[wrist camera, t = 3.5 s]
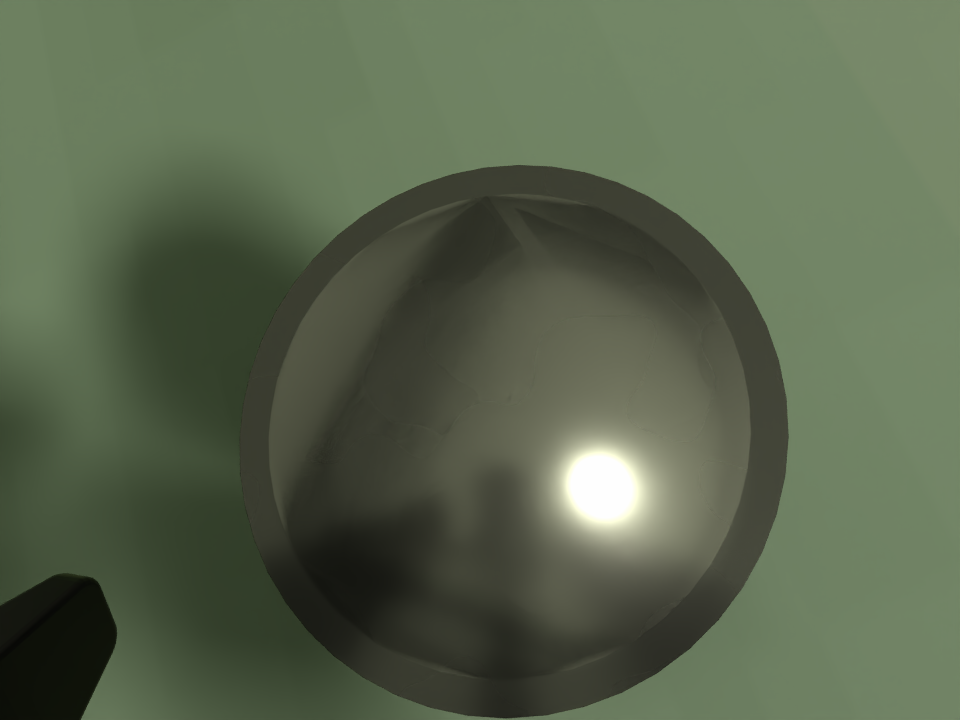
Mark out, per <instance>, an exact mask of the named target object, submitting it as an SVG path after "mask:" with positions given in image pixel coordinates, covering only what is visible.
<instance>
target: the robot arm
mask: <svg viewBox="0 0 960 720" xmlns="http://www.w3.org/2000/svg"><path fill="white" fill-rule="evenodd" d="M116 639H117V628H116V624H115V622H114V619H113V617H112V614H111V612H110V609H109V607H108V604H107V602H106V599H105V597H104V594H103V592H102V589H101V587H100V585H99V583H98V582H97V581H96V580H95V579H93V578H91V577H87V576H81V575H75V574H69V573H62V574H57V575H54V576H52V577H50V578H48V579H46V580H45V581H43V582H41V583H39V584H38V585H36V586H34V587H32V588H31V589H29V590H27V591H25V592H24V593H22V594H20V595H18V596H16V597H15V598H13V599H11V600H9V601H8V602H6V603H4V604H2V605H1V606H0V720H81V718H82V716H83V714H84V712H85V709H86V707H87V705H88V703H89V701H90V699H91V697H92V695H93V693H94V691H95V688H96V686H97V684H98V682H99V680H100V678H101V676H102V674H103V672H104V670H105V667H106V665H107V663H108V661H109V659H110V657H111V655H112V653H113V650H114V648H115V644H116Z"/></svg>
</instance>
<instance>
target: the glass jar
mask: <svg viewBox="0 0 960 720" xmlns="http://www.w3.org/2000/svg"><path fill="white" fill-rule="evenodd" d="M788 437H789V436H788V419H787V401H786V394H785V389H784V384H783V379H782V374H781V369H780V364H779V360H778V357H777V354H776V351H775V348H774V345H773V342H772V340H771V337H770V334H769V331H768V328H767V325H766V323H765V321H764V320H763V318H762V316H761V314H760V312H759V310H758V308H757V306H756V304H755V302H754V300H753V298H752V296H751V294H750V292H749V291H748V290H747V288H746V287H745V285H744V284H743V282H742V281H741V280H740V278H739V277H738V275H737V274H736V272H735V271H734V269H733V268H732V267H731V265H730V264H729V263H728V262H727V260H726V259H725V258H724V257H723V256H722V255H721V254H720V253H719V252H718V251H717V250H716V249H715V247H714V246H713V245H712V244H711V243H710V242H709V241H708V240H707V239H706V238H705V237H704V236H703V235H702V234H701V233H699V232H698V231H697V230H696V229H694V228H693V227H692V226H691V225H690V224H688V223H687V222H686V221H685V220H684V219H682V218H681V217H680V216H679V215H677V214H676V213H674V212H673V211H671V210H669V209H668V208H666V207H665V206H663V205H661V204H660V203H658V202H657V201H655V200H653V199H652V198H650V197H648V196H646V195H644V194H642V193H640V192H637V191H635V190H633V189H631V188H629V187H626V186H624V185H622V184H620V183H618V182H614V181H611V180H608V179H605V178H601V177H598V176H595V175H592V174H588V173H585V172H580V171H574V170H568V169H562V168H556V167H547V166H526V165H514V166H500V167H487V168H481V169H476V170H471V171H466V172H461V173H456V174H452V175H449V176H445V177H442V178H439V179H436V180H433V181H430V182H427V183H424V184H421V185H419V186H417V187H415V188H412V189H410V190H408V191H406V192H404V193H401V194H399V195H397V196H395V197H393V198H391V199H389V200H388V201H386V202H384V203H383V204H381V205H379V206H378V207H376V208H374V209H373V210H371V211H369V212H368V213H366V214H365V215H363V216H362V217H360V218H359V219H358V220H357V221H355V222H354V223H353V224H351V225H350V226H349V227H348V228H346V229H345V230H344V231H342V232H341V233H340V234H339V235H337V236H336V237H335V238H334V239H333V240H332V241H331V242H330V243H329V244H328V245H327V246H326V247H325V248H324V249H323V250H322V251H321V252H320V253H319V254H318V255H317V256H316V257H315V258H314V259H313V260H312V262H311V263H310V264H309V265H308V267H307V268H306V269H305V270H304V271H303V273H302V274H301V275H300V276H299V278H298V279H297V280H296V281H295V283H294V284H293V285H292V287H291V288H290V290H289V292H288V293H287V295H286V296H285V298H284V299H283V301H282V303H281V304H280V306H279V307H278V309H277V310H276V312H275V314H274V316H273V318H272V320H271V322H270V325H269V327H268V329H267V331H266V333H265V335H264V337H263V339H262V341H261V344H260V346H259V349H258V352H257V355H256V358H255V361H254V364H253V367H252V369H251V372H250V376H249V381H248V385H247V390H246V394H245V399H244V403H243V410H242V420H241V430H240V474H241V481H242V488H243V495H244V502H245V508H246V511H247V515H248V519H249V522H250V526H251V529H252V533H253V537H254V540H255V543H256V545H257V547H258V550H259V552H260V554H261V557H262V559H263V562H264V564H265V566H266V569H267V571H268V573H269V575H270V577H271V578H272V580H273V582H274V583H275V585H276V587H277V588H278V590H279V592H280V594H281V595H282V597H283V599H284V600H285V602H286V604H287V605H288V606H289V607H290V609H291V610H292V611H293V612H294V614H295V615H296V616H297V618H298V619H299V620H300V621H301V623H302V624H303V625H304V626H305V628H306V629H307V630H308V631H309V632H310V633H311V634H312V635H313V636H314V637H315V638H316V639H317V640H318V641H319V642H320V643H321V644H322V645H323V646H324V647H325V648H326V649H327V650H328V651H329V652H330V653H331V654H332V655H333V656H335V657H336V658H337V659H339V660H340V661H341V662H343V663H344V664H346V665H347V666H348V667H350V668H351V669H352V670H354V671H355V672H356V673H358V674H359V675H361V676H362V677H363V678H365V679H367V680H369V681H371V682H373V683H374V684H376V685H378V686H380V687H382V688H384V689H386V690H388V691H389V692H391V693H393V694H395V695H397V696H400V697H403V698H406V699H408V700H411V701H414V702H416V703H419V704H422V705H425V706H427V707H430V708H434V709H439V710H444V711H448V712H453V713H458V714H462V715H467V716H480V717H495V718H517V717H530V716H543V715H549V714H554V713H558V712H563V711H567V710H572V709H576V708H581V707H585V706H588V705H590V704H593V703H596V702H598V701H601V700H604V699H606V698H609V697H611V696H614V695H617V694H619V693H622V692H624V691H626V690H627V689H629V688H631V687H633V686H635V685H637V684H638V683H640V682H642V681H644V680H646V679H647V678H649V677H651V676H653V675H655V674H656V673H658V672H659V671H661V670H662V669H663V668H665V667H666V666H667V665H669V664H670V663H671V662H673V661H674V660H675V659H677V658H678V657H679V656H681V655H682V654H683V653H685V652H686V651H687V650H689V649H690V648H691V647H692V646H693V645H694V644H695V643H696V642H697V641H698V640H699V639H700V638H701V637H702V636H703V635H704V634H705V633H706V632H707V631H708V630H709V629H710V628H711V627H712V626H713V625H714V624H715V623H716V622H717V621H718V620H719V618H720V617H721V616H722V614H723V613H724V612H725V610H726V609H727V608H728V606H729V605H730V604H731V602H732V601H733V600H734V598H735V597H736V596H737V594H738V593H739V592H740V590H741V589H742V588H743V586H744V584H745V582H746V581H747V579H748V577H749V575H750V573H751V572H752V570H753V568H754V566H755V564H756V562H757V561H758V559H759V557H760V555H761V553H762V551H763V549H764V546H765V543H766V541H767V538H768V536H769V533H770V530H771V528H772V525H773V522H774V520H775V517H776V515H777V510H778V506H779V501H780V497H781V492H782V488H783V484H784V479H785V473H786V461H787V449H788Z"/></svg>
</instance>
